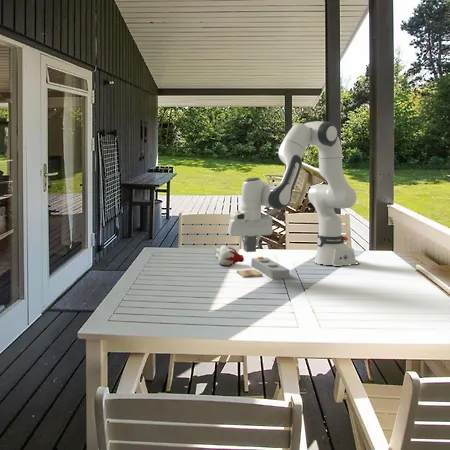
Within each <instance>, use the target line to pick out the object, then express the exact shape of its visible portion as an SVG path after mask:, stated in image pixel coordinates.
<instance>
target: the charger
mask: <svg viewBox="0 0 450 450" xmlns="http://www.w3.org/2000/svg"><path fill="white" fill-rule="evenodd" d="M243 239H244V241H245V242H246V246H243V251H244V252H247V253H253V252H254V253H255V252H256V251H257V245H256V239H257V237H256V235H248V236H244V238H243Z"/></svg>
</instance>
